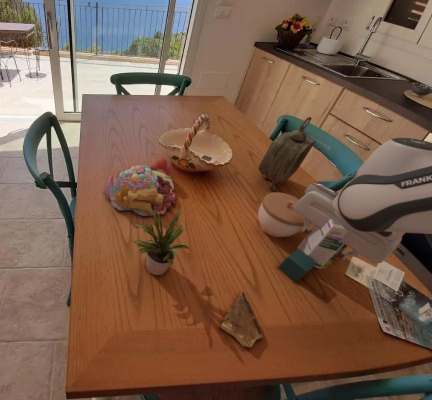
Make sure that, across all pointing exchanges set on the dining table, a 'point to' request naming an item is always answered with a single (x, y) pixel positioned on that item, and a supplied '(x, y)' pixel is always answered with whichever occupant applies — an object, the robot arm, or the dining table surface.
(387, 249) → the robot arm
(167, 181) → the candy landscape model
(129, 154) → the dining table surface
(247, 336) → the shard
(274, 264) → the dining table surface
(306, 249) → the syrup box
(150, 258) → the house plant
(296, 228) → the lidded bowl
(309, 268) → the block
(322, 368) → the dining table surface
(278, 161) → the old cowbell
